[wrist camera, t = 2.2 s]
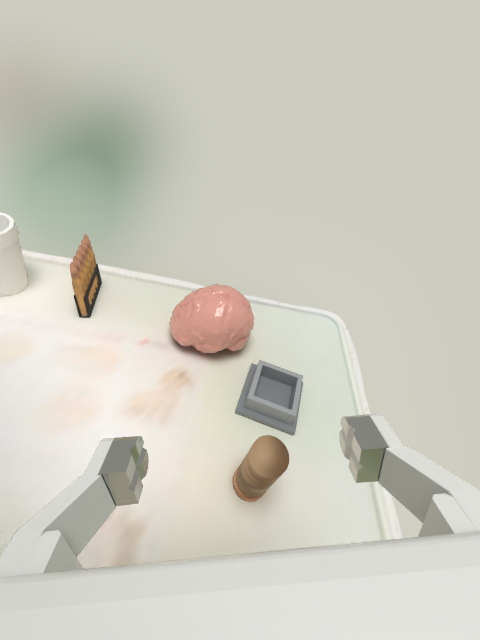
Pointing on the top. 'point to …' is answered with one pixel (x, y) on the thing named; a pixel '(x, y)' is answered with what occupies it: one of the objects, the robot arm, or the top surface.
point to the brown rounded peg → (260, 468)
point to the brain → (212, 319)
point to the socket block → (271, 396)
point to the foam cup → (11, 259)
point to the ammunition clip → (85, 278)
